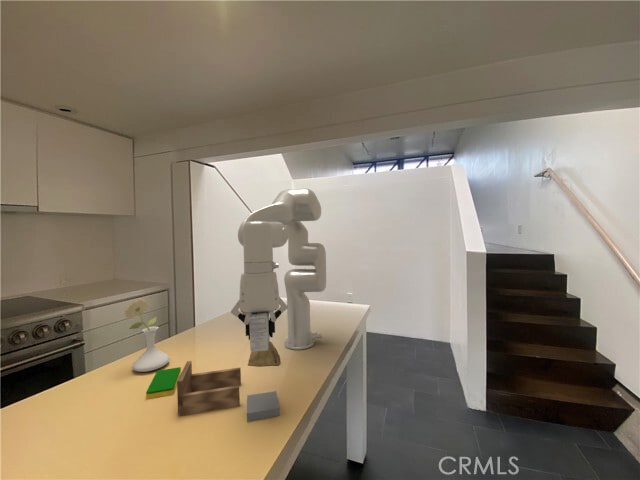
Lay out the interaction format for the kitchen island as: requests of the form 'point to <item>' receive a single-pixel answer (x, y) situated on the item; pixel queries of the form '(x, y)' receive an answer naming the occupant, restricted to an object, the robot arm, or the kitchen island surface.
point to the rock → (265, 357)
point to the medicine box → (259, 331)
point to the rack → (207, 390)
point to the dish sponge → (163, 383)
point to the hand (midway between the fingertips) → (260, 336)
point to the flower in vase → (151, 356)
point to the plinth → (262, 406)
